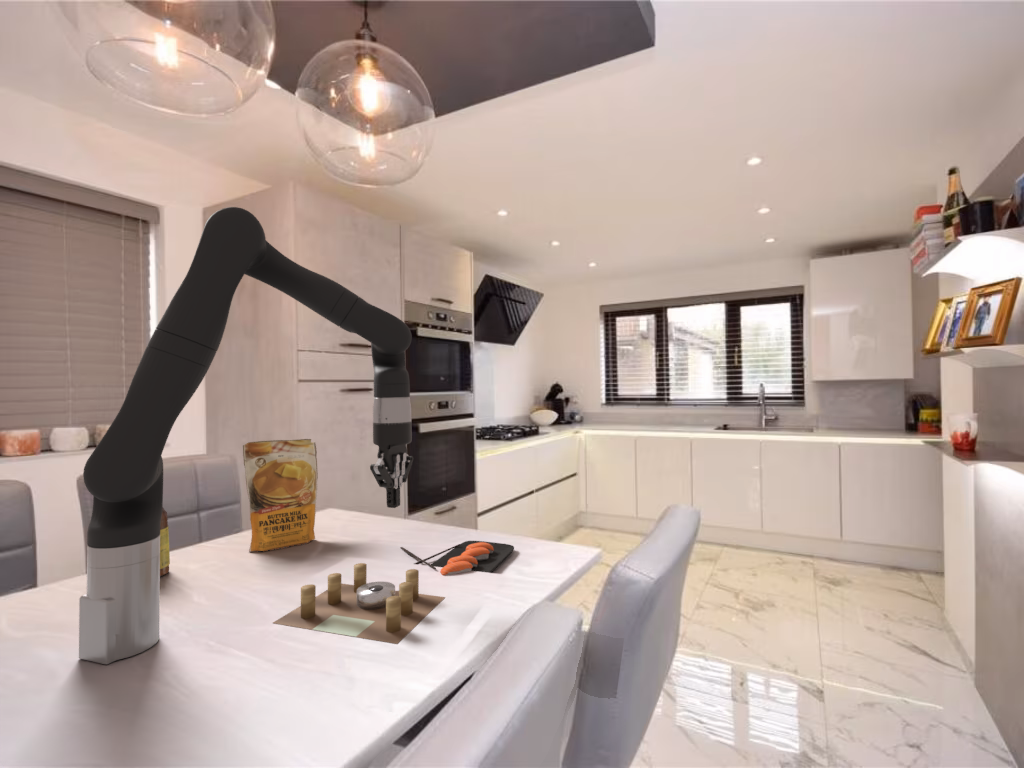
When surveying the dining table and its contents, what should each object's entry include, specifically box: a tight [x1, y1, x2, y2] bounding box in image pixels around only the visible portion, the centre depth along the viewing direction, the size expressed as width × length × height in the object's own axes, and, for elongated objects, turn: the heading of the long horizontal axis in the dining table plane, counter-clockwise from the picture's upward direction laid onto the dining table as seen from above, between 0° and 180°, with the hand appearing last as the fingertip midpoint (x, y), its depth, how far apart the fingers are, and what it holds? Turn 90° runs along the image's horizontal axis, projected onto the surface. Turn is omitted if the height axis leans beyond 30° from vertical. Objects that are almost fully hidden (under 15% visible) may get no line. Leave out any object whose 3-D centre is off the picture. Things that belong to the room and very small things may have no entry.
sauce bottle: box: [160, 507, 171, 577], centre depth 109 cm, size 7×6×20 cm
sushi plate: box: [400, 540, 515, 576], centre depth 117 cm, size 29×30×4 cm
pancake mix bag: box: [242, 438, 318, 552], centre depth 130 cm, size 7×19×28 cm, turn 129°
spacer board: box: [272, 562, 446, 645], centre depth 89 cm, size 18×24×6 cm
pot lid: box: [357, 581, 396, 610], centre depth 92 cm, size 7×7×3 cm
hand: (393, 506), depth 97 cm, fingers closed
